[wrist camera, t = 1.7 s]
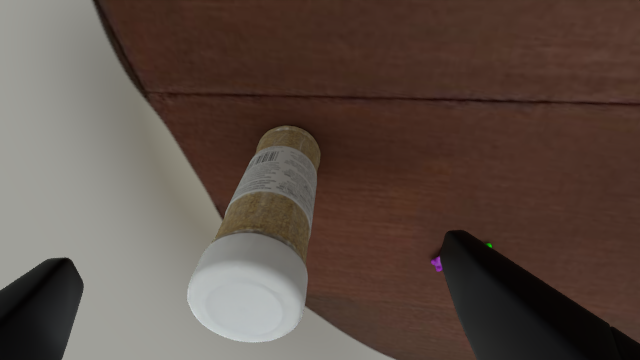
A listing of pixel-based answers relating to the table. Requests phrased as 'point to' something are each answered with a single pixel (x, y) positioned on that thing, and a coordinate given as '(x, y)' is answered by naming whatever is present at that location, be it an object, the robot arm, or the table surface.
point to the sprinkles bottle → (261, 244)
